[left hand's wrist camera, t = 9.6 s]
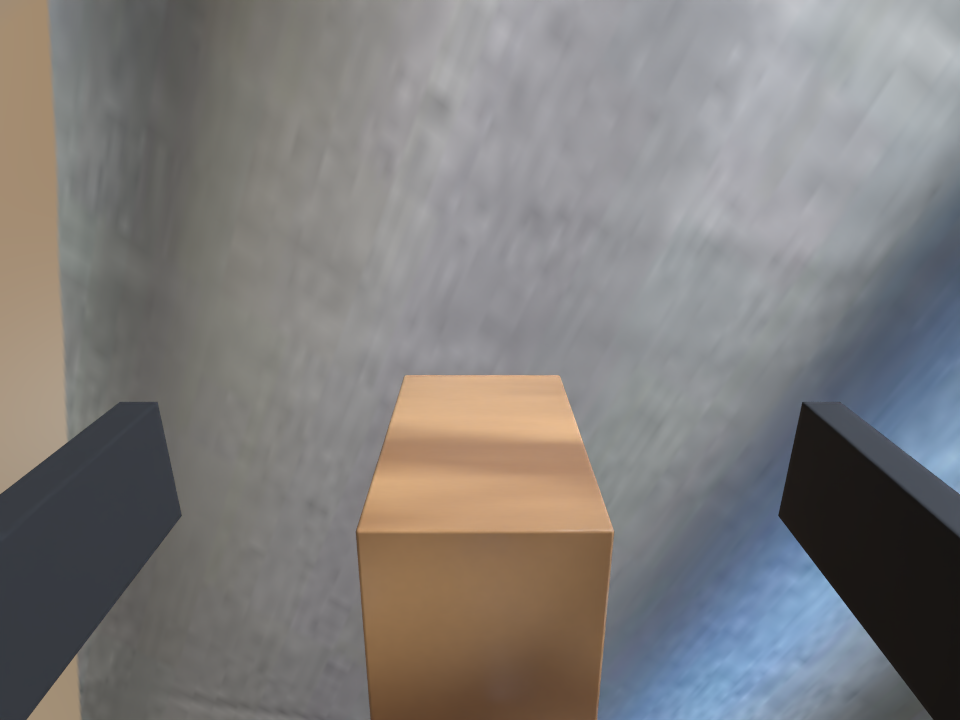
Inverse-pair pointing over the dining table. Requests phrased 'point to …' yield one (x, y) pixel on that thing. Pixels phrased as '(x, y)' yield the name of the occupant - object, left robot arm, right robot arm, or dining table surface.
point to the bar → (484, 555)
